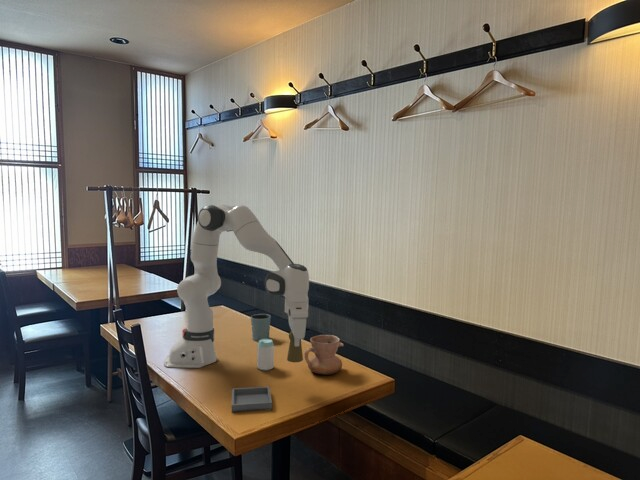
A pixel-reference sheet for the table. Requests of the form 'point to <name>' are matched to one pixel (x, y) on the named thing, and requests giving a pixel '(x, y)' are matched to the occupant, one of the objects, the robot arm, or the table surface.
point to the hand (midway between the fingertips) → (295, 343)
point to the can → (265, 354)
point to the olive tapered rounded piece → (294, 350)
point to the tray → (251, 399)
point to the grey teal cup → (260, 326)
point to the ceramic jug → (324, 355)
